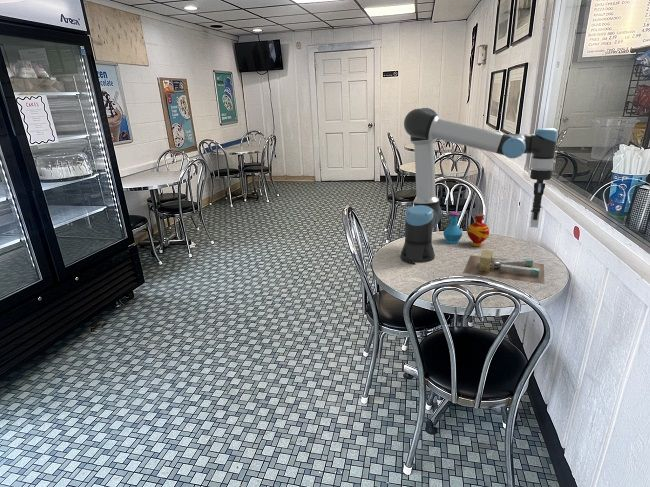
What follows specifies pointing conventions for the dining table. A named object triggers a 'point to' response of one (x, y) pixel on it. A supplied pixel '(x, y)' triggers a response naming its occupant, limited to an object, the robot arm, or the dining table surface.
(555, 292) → the dining table surface
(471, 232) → the red yellow vase
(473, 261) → the walnut board
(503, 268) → the tongs fixed arm
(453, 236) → the blue vase
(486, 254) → the translucent yellow block
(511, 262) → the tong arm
